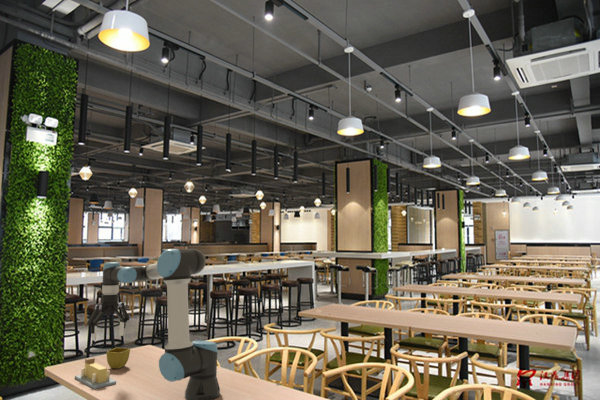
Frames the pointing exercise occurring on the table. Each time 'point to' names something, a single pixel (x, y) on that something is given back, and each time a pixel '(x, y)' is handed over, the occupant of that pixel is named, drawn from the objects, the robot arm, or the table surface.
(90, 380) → the peg board
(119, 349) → the flower pot
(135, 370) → the table surface
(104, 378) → the pale yellow block
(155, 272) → the robot arm
